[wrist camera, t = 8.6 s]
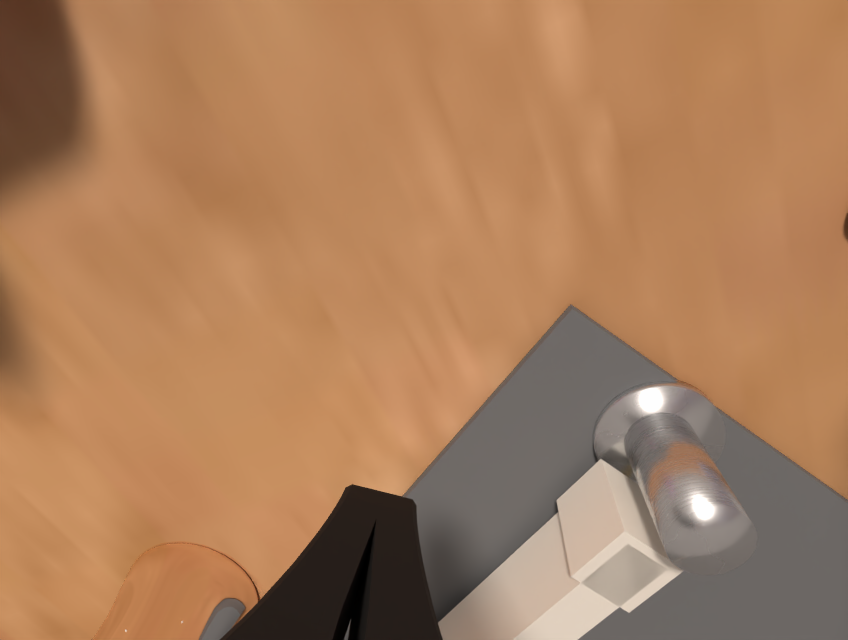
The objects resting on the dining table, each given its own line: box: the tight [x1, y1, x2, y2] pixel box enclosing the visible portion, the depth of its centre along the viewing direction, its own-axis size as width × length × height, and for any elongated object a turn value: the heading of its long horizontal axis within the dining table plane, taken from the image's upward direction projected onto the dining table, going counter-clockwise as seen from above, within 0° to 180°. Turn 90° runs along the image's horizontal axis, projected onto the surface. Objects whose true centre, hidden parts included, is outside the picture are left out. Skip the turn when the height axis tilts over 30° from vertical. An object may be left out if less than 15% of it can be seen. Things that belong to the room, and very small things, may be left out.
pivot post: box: [593, 380, 757, 575], centre depth 18 cm, size 4×4×6 cm
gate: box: [438, 459, 683, 640], centre depth 20 cm, size 13×2×4 cm, turn 145°
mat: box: [344, 305, 848, 640], centre depth 24 cm, size 19×21×1 cm
